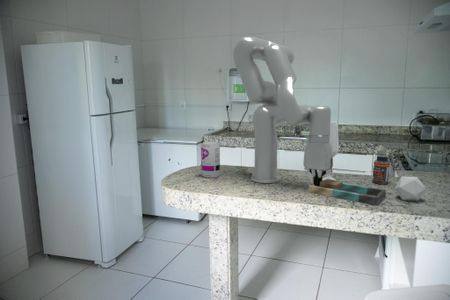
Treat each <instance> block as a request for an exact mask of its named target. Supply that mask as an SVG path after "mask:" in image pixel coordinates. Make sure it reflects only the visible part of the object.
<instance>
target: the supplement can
mask: <svg viewBox="0 0 450 300" xmlns="http://www.w3.org/2000/svg"><path fill="white" fill-rule="evenodd" d="M220 147H221V146H220V144H219V142H218V141H203V142H202V144H201V145H200V155H201V156H200V157H201V159H200V161H201V162H200V163H201V169H200V170H201V176H202V177H203V178H207V179H214V178H218V177H219V176H220V175H221V156H220V155H221V154H220V153H221V151H220Z"/></svg>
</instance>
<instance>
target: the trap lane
mask: <svg viewBox="0 0 450 300" xmlns="http://www.w3.org/2000/svg"><path fill="white" fill-rule="evenodd" d="M322 181H323V180H322ZM308 193H310V194H311V193H312V194H316V195H321V196H326V197H331V198H335V199H341V200H347V201H352V202H358V203H362V204H367V205H372V206H379V204H380V203H381V202H382V201H383V200H384V199H385V198H386V196H387V195H386V193H387V189H382V188H375V187H370V186H365V185H364V186H362V185H359V184H358V185H357V184H351V183H345V182H343V184H342V191H340V190H335V189H329V188H324V187H318V186H314V185H312V184H310V185H308Z"/></svg>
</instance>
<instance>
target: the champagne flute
mask: <svg viewBox="0 0 450 300" xmlns="http://www.w3.org/2000/svg"><path fill="white" fill-rule="evenodd" d="M330 143H331V145H332V152H333V158H334V157H335V156H337V155H338V153H339V151H340V145H339V144H340V142H339V123H334V122H330ZM331 174H332V173H329V174H327V176H324V177H322V180H326V179H331V180H337V179H335V178H334V177H332V175H331Z"/></svg>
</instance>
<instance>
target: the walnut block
mask: <svg viewBox="0 0 450 300" xmlns="http://www.w3.org/2000/svg"><path fill="white" fill-rule="evenodd" d="M343 183H344V182H343V181H342V180H337V179H336V180H331V179H326V180H323V181H321V182H320V187H324V188H329V189H335V190H340V191H343V190H342V184H343Z"/></svg>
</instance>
